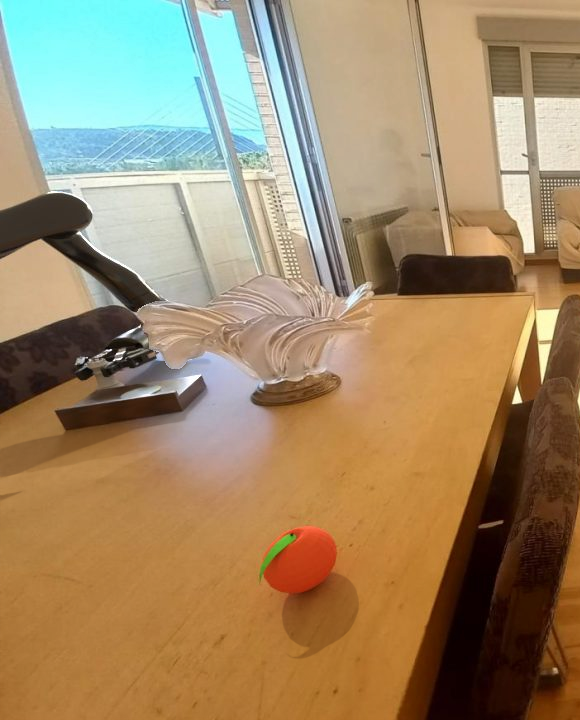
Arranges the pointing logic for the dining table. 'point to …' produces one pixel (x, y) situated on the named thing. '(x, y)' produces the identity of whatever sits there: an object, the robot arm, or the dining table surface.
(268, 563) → the clementine
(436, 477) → the dining table surface
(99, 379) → the rook chess piece
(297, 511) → the dining table surface
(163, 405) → the shelf
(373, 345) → the dining table surface
